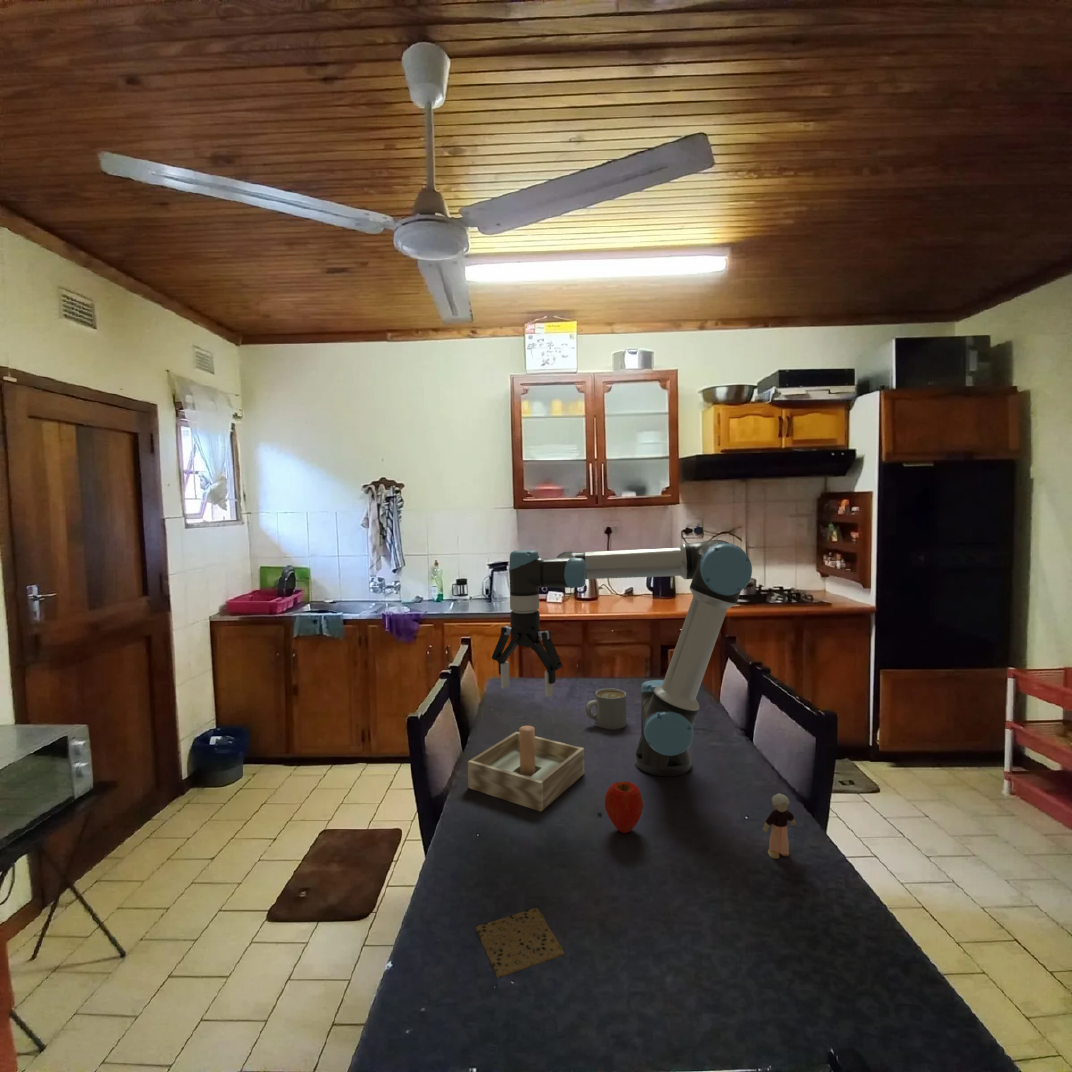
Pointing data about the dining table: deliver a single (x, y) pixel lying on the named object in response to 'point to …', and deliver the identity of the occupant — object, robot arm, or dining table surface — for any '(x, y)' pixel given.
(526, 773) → the peg
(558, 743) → the box
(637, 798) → the apple
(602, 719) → the coffee mug
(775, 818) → the grandmother figurine
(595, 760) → the dining table surface
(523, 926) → the cookie
